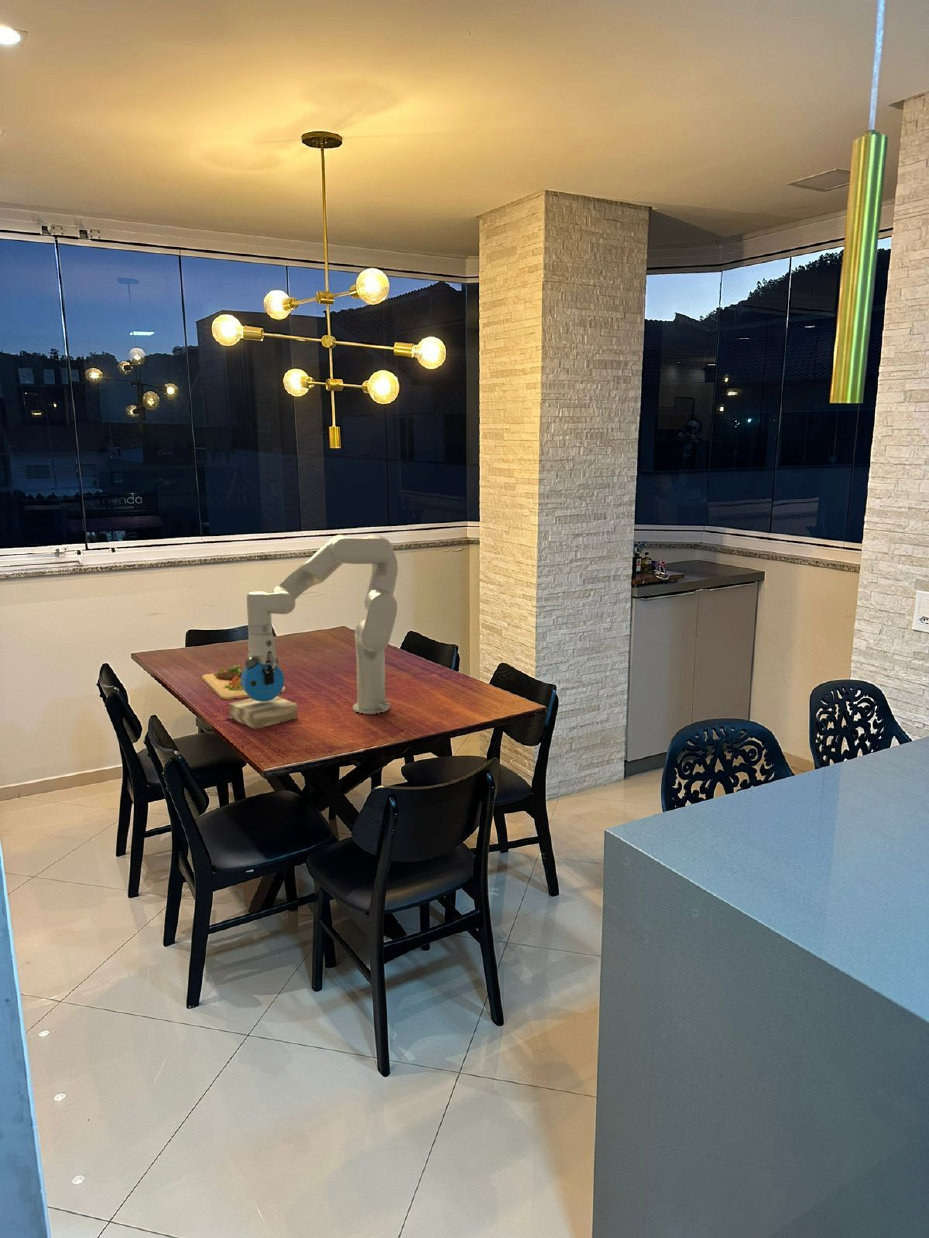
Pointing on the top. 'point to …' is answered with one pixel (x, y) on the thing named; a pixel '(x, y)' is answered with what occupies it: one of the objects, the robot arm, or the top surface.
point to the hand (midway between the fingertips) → (262, 681)
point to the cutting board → (227, 683)
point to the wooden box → (263, 712)
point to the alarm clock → (260, 681)
